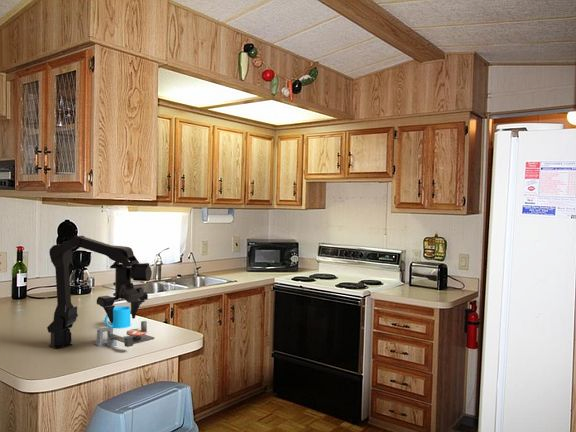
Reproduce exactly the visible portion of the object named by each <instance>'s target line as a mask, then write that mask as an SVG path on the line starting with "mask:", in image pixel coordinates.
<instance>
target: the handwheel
mask: <svg viewBox="0 0 576 432" xmlns="http://www.w3.org/2000/svg"><path fill="white" fill-rule="evenodd" d="M147 323H148V322H147V321H146V320H141V322H140V328H133V329H132V328H131V329H129V330H127V331H126V336H140V335H144V334H145V335H147V333H148V330H147V329H148V328H147V327H148V326H147V325H148V324H147Z"/></svg>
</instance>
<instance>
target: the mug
mask: <svg viewBox="0 0 576 432" xmlns="http://www.w3.org/2000/svg"><path fill="white" fill-rule="evenodd" d="M108 319H109V318H108V316H107V314H106V315H105V317H104V324H105V325H106V326H107V327H112V328H113V329H127V328H130V327H131V306H125V305H123V306H121V305H120V306H115V307H114V309H113V323H111V322H110V323H111V324H109V322H108Z"/></svg>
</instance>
